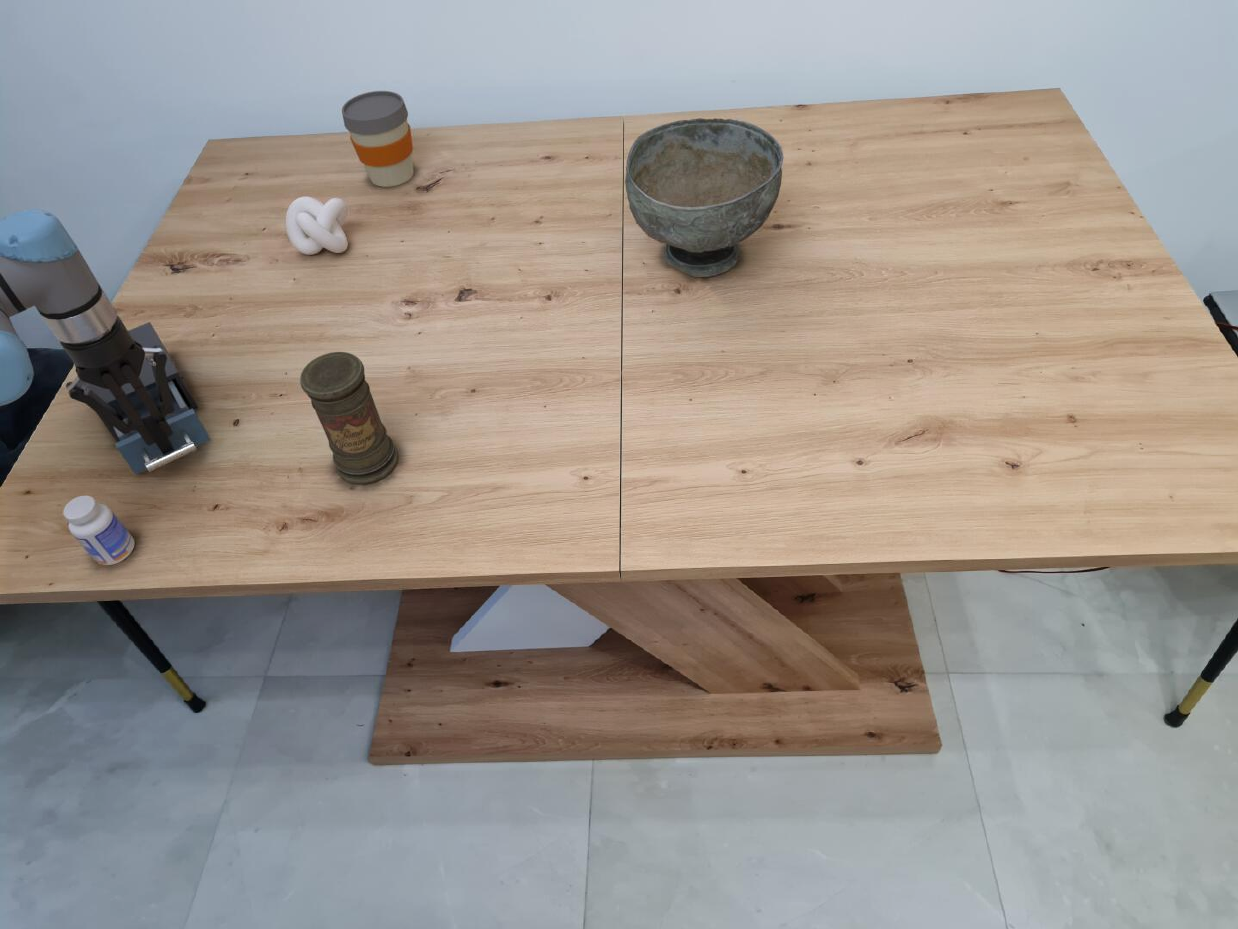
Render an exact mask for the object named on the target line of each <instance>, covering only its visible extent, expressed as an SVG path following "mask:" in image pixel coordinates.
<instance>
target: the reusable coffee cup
mask: <svg viewBox="0 0 1238 929" xmlns="http://www.w3.org/2000/svg"><path fill="white" fill-rule="evenodd" d="M341 114H342V115H341V116H342V119H343V124H344V127H345V129H346V130H347V131H348V133H349V135H350V136H349V140H350V142H351V145H352V146H353V149H354V151H355V153H356V155H357V158H358V159H359V162H360V163H362V164H363V165H364V168H365V171H366V173H367V174H368V177H369V179H370V181H371V182H372V183H373V184H374V185H375V186H378V187H384V188H386V187H387V188H388V187H395V186H399V185H402V184H404V183H407V182H408V181H410V179H412V178H413V175H414V163H413V155H412V153H413V150H414V148H413V139H412V138H413V137H412V131H411V130H412V129H411V126H410V123H409V122H408V117H409V112H408V109H407V107H406V104H405V101H404V98H403V96H402V95H400V94H399V93H397V92H394V91H391V90H390V91H388V90H375V91H374V90H373V91H368V92H364V93H361V94H358V95H355V96H354V97H352V98H350V99H348V100H347V101H346V102H345V103H344V104H343V105H342V108H341Z"/></svg>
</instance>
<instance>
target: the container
mask: <svg viewBox="0 0 1238 929" xmlns="http://www.w3.org/2000/svg"><path fill="white" fill-rule="evenodd" d="M299 382H300V383H299V384H300V387H301V389H302V391H303V392H304V393H305V394H306V395H307V397H308V398H309V399H310V403H311V406H312V408H313V409H314V411H315V414H316V416H317V418H318V420H319V423H320V425H321V427H322V429H323V432H324V434H325V436H326V438H327V441H328V446H329V449H330V451H331V452H332V462H333V463H334V468H335V470H336V473H337V474H338V475H339V477H340V478H341V479H343V481H346V482H347V483H349V484H353V485H359V486H360V485H362V486H363V485H369V484H374V483H376V482H379V481H381V480H383V479H384V478H386V477H388V476H389V475H390V474H391V473H392V471H393V470H394V469H395V467H396V466H397V463H398V457H399V456H398V450H397V448H396V446H395V444H394V441H393V439H392V438H391V437H390V436H389V435H388V432H387V428H386V426H385V425H384V424H383V422H382V419H381V417H380V414H379V411H378V409H377V406H376V403H375V401H374V397H373V395H372V393H371V388H370V385H369V383H368V381H366V374H365V366H364V364H363V362H362V361H361V359H360V358H359V357H358V356H357V355H355V354H353V353H350V352H346V351H333V352H329V353H325V354H321V355H319V356H318V357H315V358H314V359H312V360H311V361H310V362H308V363H307V364H306V365H305V367H304V368H303V369H302V371H301V373H300V378H299Z"/></svg>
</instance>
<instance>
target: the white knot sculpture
mask: <svg viewBox="0 0 1238 929" xmlns="http://www.w3.org/2000/svg"><path fill="white" fill-rule="evenodd" d="M347 216H348V205H347V204H346V201H345V200H343V199H341V198H340V197H333V198H332V197H331V198H330V199H329V200H327V201H326V202H325V203H324V204H323V203H322V202H321V201H320V200H318V199H316V198H314V197H311V196H300V197H298V198H296V199H294V200H293V201H292V202H291V203H290V205H289V206H288V208H287V210H286V214H285V230H286V235H287V237H288V239H289V240H288V241H290V244H291V245H292V246H293V247H294V249H296V250H297V251H298V252H299V253H301V254H303V255H307V256H311V255H316V254H319V253H320V252H321V251H322V250H323V249H326V250H327V251H330V252H332V253H334V254H341V253H344V252H345V251H346V250H347V249H348V246H349V242H348V238H347V236H346V233H345V232H344V229H343V228H342V227H343V225H344V224H345V222H346V220H347ZM307 236H308V237H307Z"/></svg>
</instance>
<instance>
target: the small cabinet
mask: <svg viewBox="0 0 1238 929" xmlns="http://www.w3.org/2000/svg"><path fill="white" fill-rule="evenodd" d="M128 332H129V334H130V335H131V337H132V339H133V340H134V341H136V342H137V343H139V344H141V346H142V347H143V348H153V347H154V346H155V345H160V346H161V347H162V349H163V350H164V352H165V354H166V356H167V361H166V365H165V372H166V376H167V380H168V381H169V380H173V382H174V383H175V385H176V387H177V388H178V390H179V392H180V394H181V396H182V397H183V399H184V401H185V403H186V405H187V407H188V409H189V410H190V409H193V410H194V411H195V410H197V409H198V408H199V406H198V404H197V402H196V400H195V399H194V397H193V395H192V393H191V392H190V390H189V388H188V386H187V384H186V382H185V380H184V379H183V377H182V375H181V373H180V372H179V370H178V368H177V367H176V364H175V363H174V361H173V359H172V357H171V356H170V354H169V352H168V351H167V349H166V347H165V345H164V343H163V342H162V340H161V338H160V336H159V335H158V334H157V331H156V330H155V328H154V327H153V325H152V323H151V321H149V322H146V323H143V324H141V325H138V326H136V327H133V328H131V329H129V330H128ZM74 366H75V368H76V365H75V364H74ZM139 378H140V379H141V381H142V382H143V384H144V385H145V387H146V389H147V390H149V389H151V388H153V387H156V382H155V378H154V374H153V370H152V366H151V365H150V364H149V363H148V361H147V359H146V358H144V361H143V365H142V369H141V373H140V375H139ZM86 383H87V382H86ZM87 384H88V386H89V388H90V390H92V391H93V392H94V393H95V394H97V395H98V396H99V397H100V398H101V399H103V400H104V401H105V402H106V403H107V404H109V405H110V406H112V405H115V404H117V403H118V401H117V400H116V398H115V397H114V396H113V394H112V393H111V391H110V390H109V389H104V388H102V387H99V386H96V385H93V384H90V383H87ZM121 387H122V389H123V390H124V392H125V393H126V395H127V396H128V398H131V397H133V396H135V395H137V393H136V391H135V390H134V388H133V387H132V385H131V384H130V383H127V384H124V385H123V386H121ZM96 415H97V416H98V417H99V419H100V420H101V422H102V423H103V424H104V427H106V429H107V430H108V432H109V433H110V435H111V436H112V438H113V439H114V440H115V441H116V443H117V442H120V439H119V438H118V436H117V434H116V431H115V429H114V427H113V425H111V424H110V423H109V422H108V421H106V420H105V419H104V418H103V417H101V416H100V415H99V414H98V413H96Z"/></svg>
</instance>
